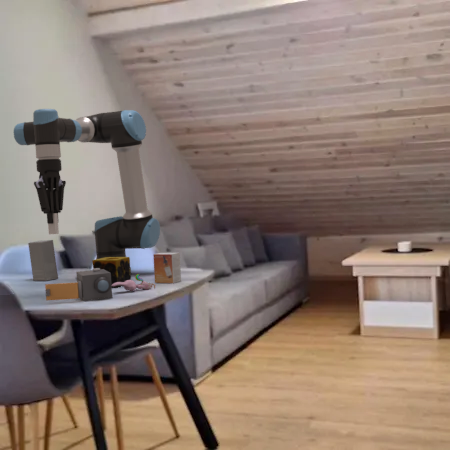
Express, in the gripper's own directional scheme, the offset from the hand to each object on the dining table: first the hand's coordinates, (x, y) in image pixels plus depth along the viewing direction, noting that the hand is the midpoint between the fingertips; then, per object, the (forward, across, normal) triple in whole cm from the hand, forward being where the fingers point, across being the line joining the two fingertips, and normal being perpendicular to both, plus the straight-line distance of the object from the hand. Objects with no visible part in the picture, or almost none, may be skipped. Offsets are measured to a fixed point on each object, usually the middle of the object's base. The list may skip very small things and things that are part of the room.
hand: (53, 233), depth 208 cm
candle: (+22, -30, 0) cm, 37 cm away
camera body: (+21, -7, +9) cm, 24 cm away
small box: (+22, -39, +18) cm, 48 cm away
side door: (+21, +2, +4) cm, 21 cm away
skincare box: (+21, -42, -40) cm, 62 cm away
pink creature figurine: (+22, -20, +16) cm, 33 cm away
